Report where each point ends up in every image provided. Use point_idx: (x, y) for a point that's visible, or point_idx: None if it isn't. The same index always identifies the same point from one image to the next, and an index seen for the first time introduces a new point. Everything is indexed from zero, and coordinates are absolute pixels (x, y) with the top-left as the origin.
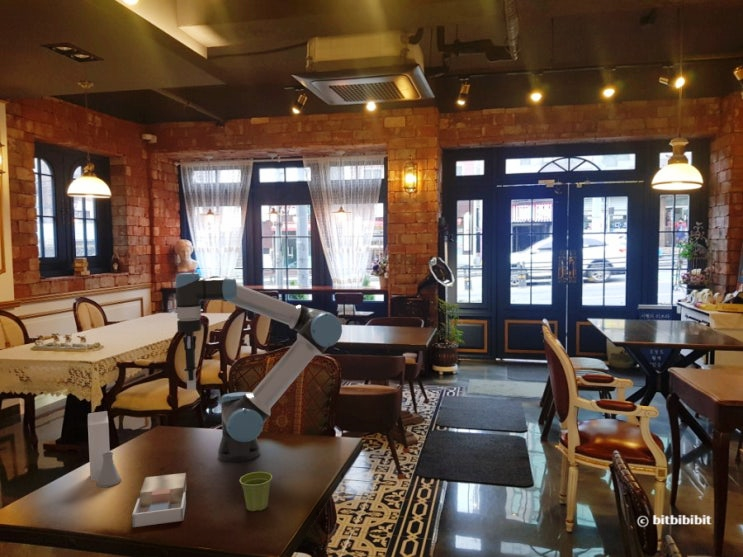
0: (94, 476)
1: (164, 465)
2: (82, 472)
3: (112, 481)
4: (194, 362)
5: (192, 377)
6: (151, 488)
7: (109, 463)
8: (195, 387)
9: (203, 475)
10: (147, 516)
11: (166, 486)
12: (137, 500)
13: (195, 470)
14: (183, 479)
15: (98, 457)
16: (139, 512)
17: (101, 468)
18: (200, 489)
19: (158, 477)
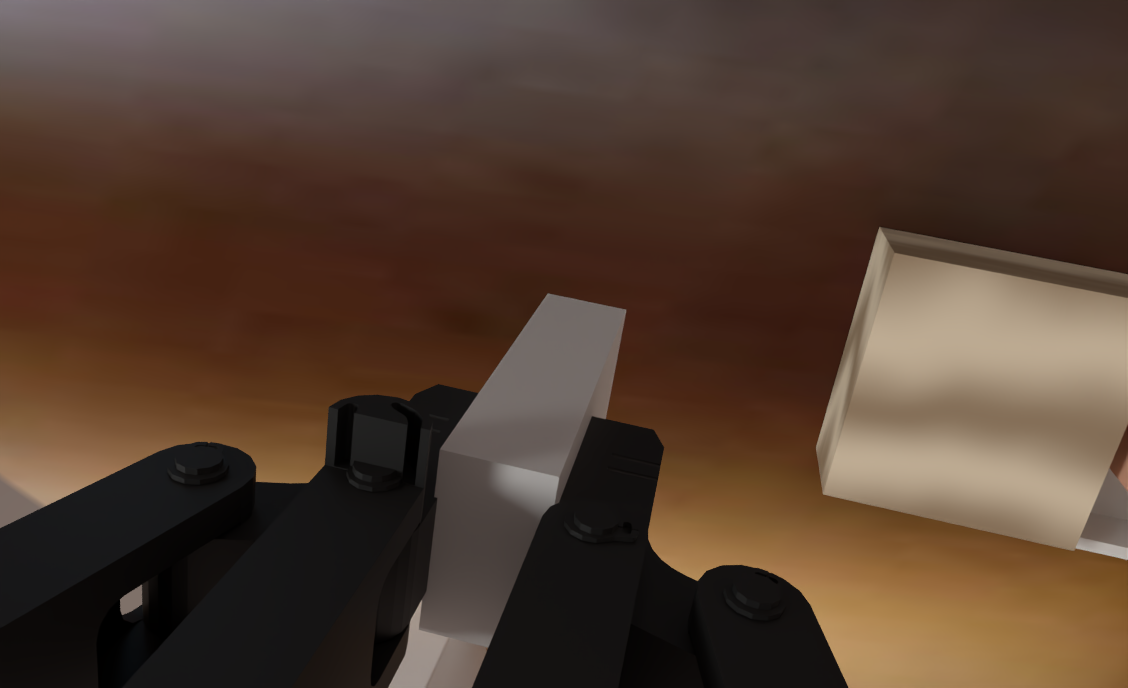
0: (480, 663)
1: (410, 304)
2: None
3: None
4: (372, 574)
5: (658, 475)
6: (1047, 487)
7: None
8: (620, 324)
9: (711, 89)
10: None
11: (1077, 403)
12: (1096, 551)
13: (589, 129)
14: (1017, 285)
15: None
16: (1111, 515)
17: (466, 658)
18: (955, 143)
19: (872, 427)
